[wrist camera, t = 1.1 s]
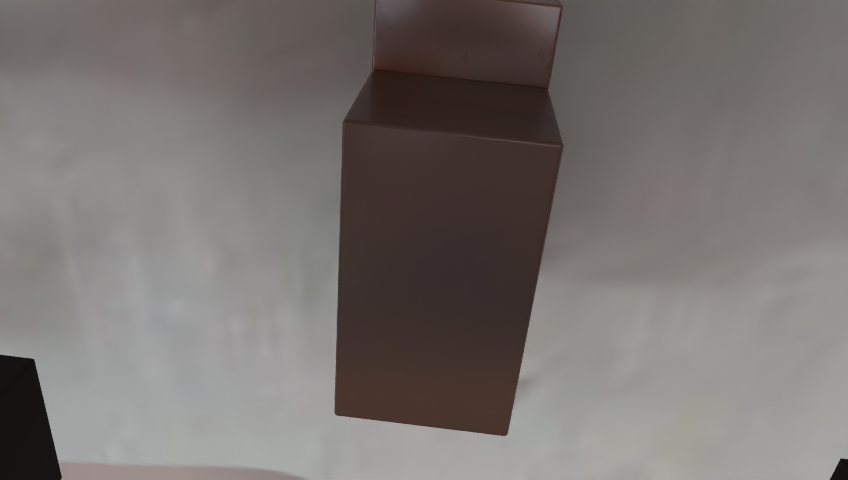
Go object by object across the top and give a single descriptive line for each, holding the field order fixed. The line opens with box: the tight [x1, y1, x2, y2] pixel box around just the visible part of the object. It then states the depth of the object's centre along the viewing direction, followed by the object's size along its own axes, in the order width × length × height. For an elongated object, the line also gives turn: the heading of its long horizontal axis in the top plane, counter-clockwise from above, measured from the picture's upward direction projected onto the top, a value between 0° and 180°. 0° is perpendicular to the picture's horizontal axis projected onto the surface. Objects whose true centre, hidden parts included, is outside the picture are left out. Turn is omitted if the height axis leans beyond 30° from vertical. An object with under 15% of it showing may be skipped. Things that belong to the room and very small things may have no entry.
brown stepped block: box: [335, 0, 563, 436], centre depth 19 cm, size 12×4×8 cm, turn 175°
